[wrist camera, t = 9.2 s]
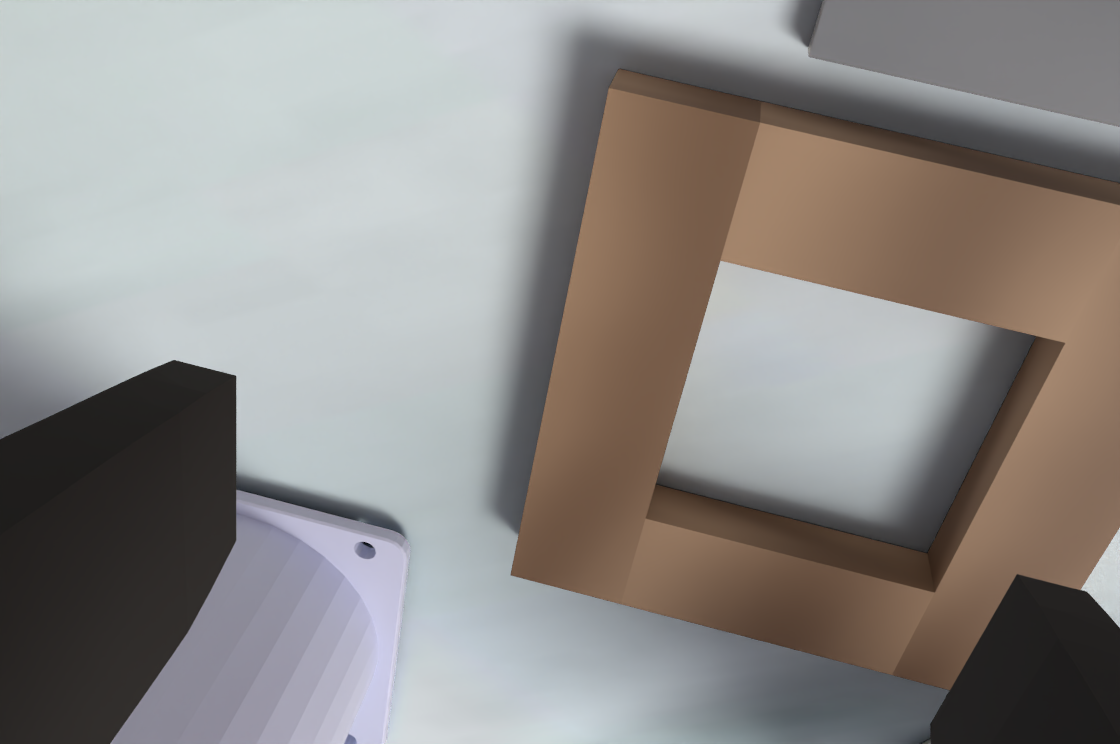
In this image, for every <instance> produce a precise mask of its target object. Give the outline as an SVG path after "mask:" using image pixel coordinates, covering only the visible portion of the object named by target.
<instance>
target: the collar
mask: <svg viewBox="0 0 1120 744" xmlns="http://www.w3.org/2000/svg"><path fill="white" fill-rule="evenodd" d="M720 261H725V262H729V263H733V264H737V265H741V266H746V267H750V268H754V269H758V270H762V271H766V272H771V273H775V274H779V275H783V276H787V277H792V278H796V279H800V280H804V281H808V282H812V283H817V284H821V285H825V286H829V287H833V288H838V289H842V290H846V291H850V292H854V293H859V294H863V295H867V296H871V297H875V298H879V299H884V300H888V301H892V302H896V303H900V304H905V305H909V306H913V307H917V308H921V309H925V310H930V311H934V312H938V313H942V314H946V315H951V316H955V317H959V318H963V319H967V320H971V321H976V322H980V323H984V324H988V325H992V326H997V327H1001V328H1005V329H1009V330H1013V331H1017V332H1022V333H1026V334H1030V335H1034V336H1036V338H1035V340H1034V342H1033V344H1032V346H1031V348H1030V350H1029V352H1028V354H1027V356H1026V358H1025V360H1024V362H1023V364H1022V366H1021V368H1020V370H1019V372H1018V374H1017V376H1016V378H1015V380H1014V382H1013V384H1012V386H1011V388H1010V390H1009V392H1008V394H1007V396H1006V398H1005V400H1004V402H1003V404H1002V406H1001V408H1000V410H999V412H998V414H997V416H996V418H995V420H994V422H993V424H992V426H991V428H990V430H989V432H988V434H987V436H986V438H985V440H984V442H983V444H982V446H981V448H980V450H979V452H978V454H977V456H976V458H975V460H974V462H973V464H972V466H971V468H970V470H969V472H968V474H967V476H966V478H965V480H964V482H963V484H962V486H961V488H960V490H959V492H958V494H957V496H956V498H955V500H954V502H953V504H952V506H951V508H950V510H949V512H948V514H947V516H946V518H945V520H944V522H943V524H942V526H941V528H940V530H939V532H938V533H937V535H936V537H935V539H934V541H933V543H932V545H931V547H930V549H929V551H928V553H924V552H920V551H916V550H912V549H908V548H904V547H900V546H896V545H892V544H888V543H884V542H880V541H876V540H872V539H868V538H864V537H861V536H857V535H853V534H849V533H845V532H841V531H837V530H833V529H829V528H825V527H821V526H817V525H813V524H809V523H805V522H801V521H798V520H794V519H790V518H786V517H782V516H778V515H774V514H770V513H766V512H762V511H758V510H754V509H750V508H746V507H742V506H738V505H735V504H731V503H727V502H723V501H719V500H715V499H711V498H707V497H703V496H699V495H695V494H691V493H687V492H683V491H679V490H675V489H671V488H668V487H664V486H660V485H656V481H657V477H658V474H659V470H660V467H661V464H662V460H663V457H664V453H665V450H666V446H667V443H668V439H669V436H670V432H671V429H672V426H673V422H674V419H675V415H676V412H677V408H678V405H679V401H680V398H681V394H682V391H683V388H684V384H685V381H686V377H687V374H688V370H689V367H690V363H691V360H692V356H693V353H694V350H695V346H696V343H697V339H698V336H699V332H700V329H701V325H702V322H703V318H704V315H705V312H706V308H707V305H708V301H709V298H710V294H711V291H712V287H713V284H714V280H715V277H716V274H717V270H718V267H719V263H720ZM1119 528H1120V183H1117V182H1112V181H1108V180H1103V179H1099V178H1095V177H1090V176H1086V175H1082V174H1077V173H1073V172H1068V171H1064V170H1060V169H1055V168H1051V167H1047V166H1042V165H1038V164H1033V163H1029V162H1025V161H1020V160H1016V159H1012V158H1007V157H1003V156H998V155H994V154H990V153H985V152H981V151H977V150H972V149H968V148H963V147H959V146H955V145H950V144H946V143H942V142H937V141H933V140H928V139H924V138H920V137H915V136H911V135H907V134H902V133H898V132H893V131H889V130H885V129H880V128H876V127H872V126H867V125H863V124H858V123H854V122H850V121H845V120H841V119H837V118H832V117H828V116H823V115H819V114H815V113H810V112H806V111H802V110H797V109H793V108H788V107H784V106H780V105H775V104H771V103H767V102H762V101H758V100H753V99H749V98H745V97H740V96H736V95H732V94H727V93H723V92H718V91H714V90H710V89H705V88H701V87H697V86H692V85H688V84H683V83H679V82H675V81H670V80H666V79H662V78H657V77H653V76H648V75H644V74H640V73H635V72H631V71H627V70H622V69H618V71H617V73H616V75H615V77H614V79H613V81H612V83H611V85H610V86H609V89H608V94H607V99H606V104H605V109H604V114H603V119H602V124H601V129H600V134H599V139H598V144H597V149H596V154H595V159H594V164H593V169H592V174H591V179H590V184H589V189H588V194H587V198H586V203H585V208H584V213H583V218H582V223H581V228H580V233H579V238H578V243H577V248H576V253H575V258H574V263H573V268H572V273H571V278H570V283H569V288H568V293H567V298H566V303H565V308H564V313H563V318H562V322H561V327H560V332H559V337H558V342H557V347H556V352H555V357H554V362H553V367H552V372H551V377H550V382H549V387H548V392H547V397H546V402H545V407H544V412H543V417H542V422H541V427H540V432H539V437H538V442H537V446H536V451H535V456H534V461H533V466H532V471H531V476H530V481H529V486H528V491H527V496H526V501H525V506H524V511H523V516H522V521H521V526H520V531H519V536H518V541H517V546H516V551H515V556H514V561H513V565H512V570H511V575H512V576H516V577H520V578H523V579H527V580H531V581H535V582H539V583H542V584H546V585H550V586H554V587H558V588H561V589H565V590H569V591H573V592H577V593H581V594H584V595H588V596H592V597H596V598H600V599H603V600H607V601H611V602H615V603H619V604H623V605H626V606H630V607H634V608H638V609H642V610H645V611H649V612H653V613H657V614H661V615H665V616H668V617H672V618H676V619H680V620H684V621H687V622H691V623H695V624H699V625H703V626H707V627H710V628H714V629H718V630H722V631H726V632H729V633H733V634H737V635H741V636H745V637H749V638H752V639H756V640H760V641H764V642H768V643H771V644H775V645H779V646H783V647H787V648H791V649H794V650H798V651H802V652H806V653H810V654H813V655H817V656H821V657H825V658H829V659H833V660H836V661H840V662H844V663H848V664H852V665H855V666H859V667H863V668H867V669H871V670H875V671H878V672H882V673H886V674H890V675H894V676H897V677H901V678H905V679H909V680H913V681H917V682H920V683H924V684H928V685H932V686H936V687H939V688H943V689H947V690H950V689H951V688H952V686H953V684H954V682H955V681H956V679H957V677H958V675H959V674H960V672H961V670H962V669H963V667H964V665H965V663H966V662H967V660H968V658H969V656H970V655H971V653H972V651H973V649H974V648H975V646H976V644H977V642H978V641H979V639H980V637H981V636H982V634H983V632H984V630H985V629H986V627H987V625H988V623H989V622H990V620H991V618H992V616H993V615H994V613H995V611H996V609H997V608H998V606H999V604H1000V603H1001V601H1002V599H1003V597H1004V596H1005V594H1006V592H1007V590H1008V589H1009V587H1010V585H1011V583H1012V582H1013V580H1014V578H1015V576H1016V575H1017V574H1019V575H1023V576H1027V577H1031V578H1035V579H1038V580H1042V581H1046V582H1050V583H1054V584H1058V585H1062V586H1066V587H1070V588H1074V589H1078V590H1081V588H1082V586H1083V585H1084V583H1085V582H1086V580H1087V578H1088V577H1089V575H1090V574H1091V572H1092V571H1093V569H1094V567H1095V566H1096V564H1097V563H1098V561H1099V559H1100V558H1101V556H1102V555H1103V553H1104V551H1105V550H1106V548H1107V547H1108V545H1109V544H1110V542H1111V540H1112V539H1113V537H1114V536H1115V534H1116V532H1117V531H1118V529H1119Z"/></svg>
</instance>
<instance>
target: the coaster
mask: <svg viewBox="0 0 1120 744" xmlns="http://www.w3.org/2000/svg"><path fill="white" fill-rule="evenodd" d="M808 56H809V57H812V58H816V59H821V60H825V61H829V62H834V63H838V64H843V65H847V66H852V67H856V68H861V69H865V70H869V71H874V72H878V73H883V74H887V75H892V76H896V77H900V78H905V79H909V80H914V81H918V82H923V83H927V84H932V85H936V86H940V87H945V88H949V89H954V90H958V91H963V92H967V93H972V94H976V95H980V96H985V97H989V98H994V99H998V100H1003V101H1007V102H1012V103H1016V104H1020V105H1025V106H1029V107H1034V108H1038V109H1043V110H1047V111H1051V112H1056V113H1060V114H1065V115H1069V116H1074V117H1078V118H1083V119H1087V120H1091V121H1096V122H1100V123H1105V124H1109V125H1114V126H1118V127H1120V1H1119V0H823V1H822V4H821V7H820V11H819V14H818V17H817V20H816V24H815V27H814V30H813V34H812V37H811V40H810V44H809V47H808Z"/></svg>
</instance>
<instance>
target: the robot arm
mask: <svg viewBox="0 0 1120 744" xmlns="http://www.w3.org/2000/svg"><path fill="white" fill-rule="evenodd" d="M362 542H367V543H369V544H371V545H372V546H373V547H374V548H370V547H367V546H365V545H364V544H363V543H362ZM410 553H411V550H410V544H409V543H408V541H407V539H406V538H405V537H403V536H402V535H401V534H400V533H397V532H395V531H393V530H389V529H385V528H381V527H378V526H374V525H370V524H366V523H362V522H358V521H355V520H351V519H347V518H343V517H339V516H336V515H332V514H328V513H324V512H320V511H316V510H313V509H309V508H305V507H301V506H297V505H293V504H290V503H286V502H282V501H278V500H274V499H270V498H267V497H263V496H259V495H255V494H251V493H247V492H244V491H240V490H236V376H235V375H231V374H227V373H223V372H219V371H215V370H211V369H207V368H203V367H199V366H195V365H191V364H187V363H183V362H180V361H176V360H173V361H170V362H168V363H165V364H163V365H161V366H158V367H156V368H153V369H151V370H149V371H146V372H144V373H142V374H140V375H137V376H135V377H133V378H131V379H129V380H126V381H124V382H122V383H120V384H118V385H116V386H113V387H111V388H109V389H107V390H105V391H103V392H101V393H99V394H96V395H94V396H92V397H90V398H88V399H86V400H84V401H82V402H79V403H77V404H75V405H73V406H71V407H69V408H67V409H65V410H63V411H60V412H58V413H56V414H54V415H52V416H50V417H48V418H46V419H43V420H41V421H39V422H37V423H35V424H33V425H30V426H28V427H26V428H24V429H22V430H20V431H17V432H15V433H13V434H11V435H9V436H6V437H4V438H2V439H0V744H385V743H386V741H387V736H388V728H389V720H390V712H391V704H392V696H393V688H394V680H395V672H396V664H397V656H398V648H399V640H400V632H401V624H402V616H403V608H404V600H405V592H406V584H407V576H408V568H409V561H410ZM930 725H931V744H1120V628H1119V627H1118V626H1117V624H1116V623H1115V622H1114V621H1113V620H1112V619H1111V618H1110V616H1109V615H1108V614H1107V613H1106V612H1105V611H1104V610H1103V609H1102V608H1101V606H1100V605H1099V604H1098V603H1097V602H1096V601H1095V600H1094V599H1093V598H1092V597H1091V596H1090V595H1089V594H1088V593H1087V592H1086V591H1082V590H1078V589H1074V588H1070V587H1066V586H1062V585H1058V584H1054V583H1050V582H1046V581H1042V580H1038V579H1035V578H1031V577H1027V576H1023V575H1019V574H1017V575H1016V576H1015V578H1014V580H1013V582H1012V583H1011V585H1010V587H1009V589H1008V590H1007V592H1006V594H1005V596H1004V597H1003V599H1002V601H1001V603H1000V604H999V606H998V608H997V609H996V611H995V613H994V615H993V616H992V618H991V620H990V622H989V623H988V625H987V627H986V629H985V630H984V632H983V634H982V636H981V637H980V639H979V641H978V642H977V644H976V646H975V648H974V649H973V651H972V653H971V655H970V656H969V658H968V660H967V662H966V663H965V665H964V667H963V669H962V670H961V672H960V674H959V675H958V677H957V679H956V681H955V682H954V684H953V686H952V688H951V689H950V691H949V693H948V695H947V696H946V698H945V700H944V702H943V703H942V705H941V707H940V708H939V710H938V712H937V714H936V715H935V717H934V719H933V721H932V722H931V724H930Z"/></svg>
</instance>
